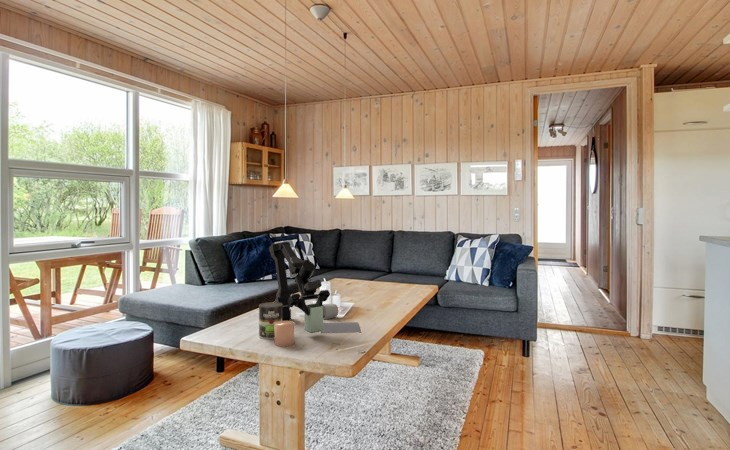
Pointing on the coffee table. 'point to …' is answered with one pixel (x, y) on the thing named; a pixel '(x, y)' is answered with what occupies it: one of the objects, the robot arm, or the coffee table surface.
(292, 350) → the coffee table surface
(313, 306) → the tin
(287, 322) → the pink rounded cylinder
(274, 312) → the coffee can
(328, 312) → the ceramic mug
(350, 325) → the mat
